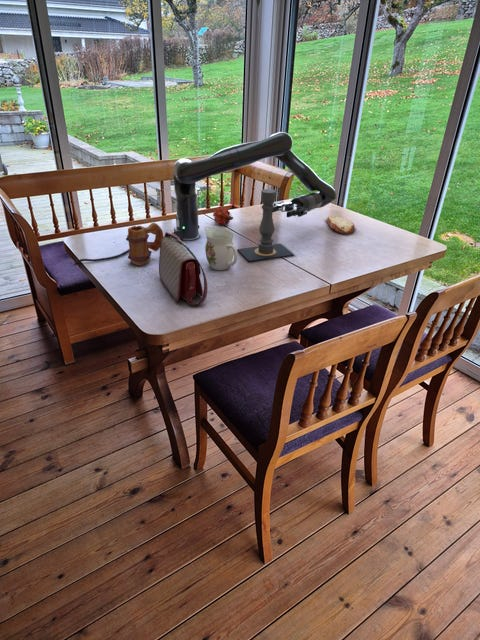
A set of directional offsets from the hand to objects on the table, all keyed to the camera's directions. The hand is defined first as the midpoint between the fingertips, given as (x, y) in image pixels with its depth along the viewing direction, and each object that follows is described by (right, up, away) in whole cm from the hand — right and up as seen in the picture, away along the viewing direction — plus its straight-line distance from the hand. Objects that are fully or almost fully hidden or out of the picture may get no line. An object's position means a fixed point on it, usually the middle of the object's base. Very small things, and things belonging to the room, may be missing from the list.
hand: (279, 212), depth 185 cm
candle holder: (-5, -16, +3) cm, 17 cm away
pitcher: (-23, -24, -10) cm, 35 cm away
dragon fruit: (-24, +3, +35) cm, 43 cm away
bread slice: (+32, +1, +33) cm, 46 cm away
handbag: (-36, -34, -27) cm, 56 cm away
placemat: (-5, -16, +3) cm, 17 cm away
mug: (-53, -21, -6) cm, 57 cm away
